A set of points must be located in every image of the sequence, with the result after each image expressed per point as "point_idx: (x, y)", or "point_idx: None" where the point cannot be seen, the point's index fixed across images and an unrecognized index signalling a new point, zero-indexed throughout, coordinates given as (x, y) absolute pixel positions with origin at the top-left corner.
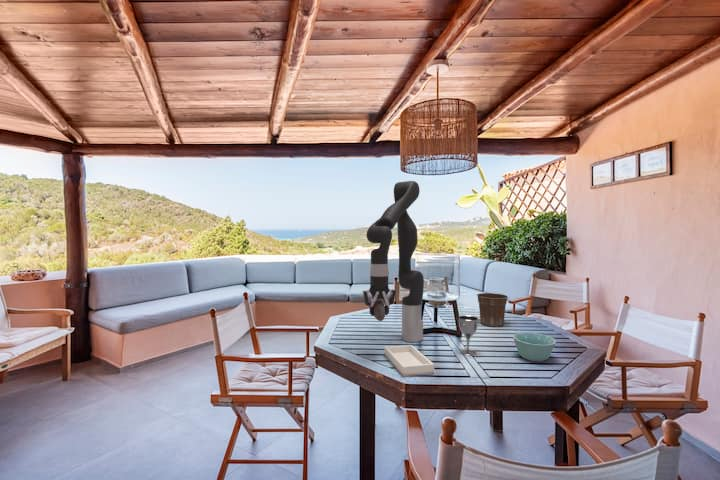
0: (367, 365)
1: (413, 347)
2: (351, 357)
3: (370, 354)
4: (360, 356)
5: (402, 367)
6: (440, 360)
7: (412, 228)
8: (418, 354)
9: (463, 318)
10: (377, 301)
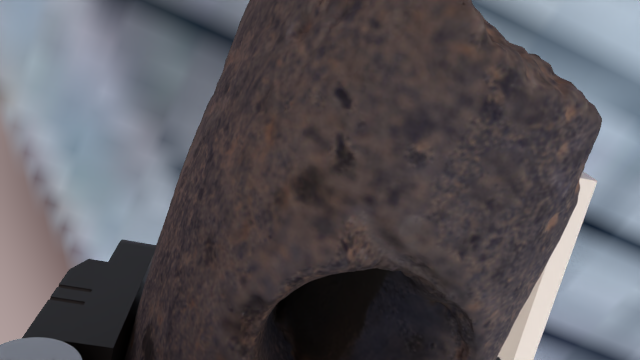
0: (107, 249)
1: (566, 245)
2: (28, 41)
3: (224, 44)
4: (117, 52)
5: None
6: (636, 355)
7: None
8: (508, 356)
9: None
10: (358, 270)
